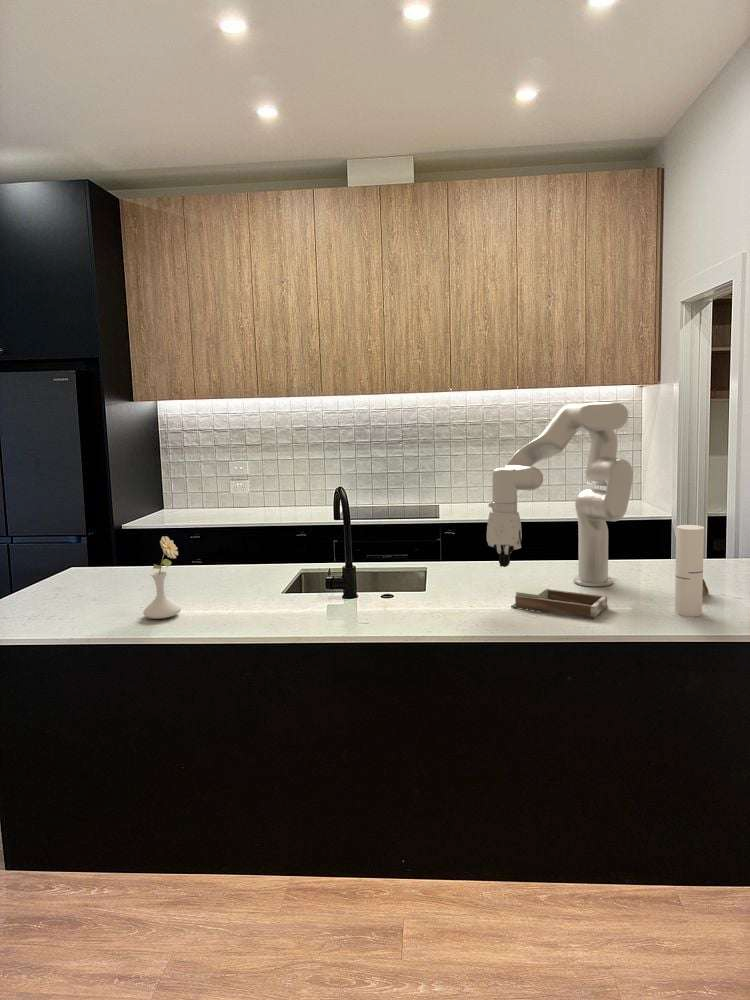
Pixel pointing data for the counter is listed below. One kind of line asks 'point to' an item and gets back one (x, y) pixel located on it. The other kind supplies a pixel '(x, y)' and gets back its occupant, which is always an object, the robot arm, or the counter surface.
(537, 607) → the brown wooden tray
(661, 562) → the counter surface
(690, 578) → the cylindrical container
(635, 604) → the counter surface
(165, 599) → the flower in vase
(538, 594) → the sage block
